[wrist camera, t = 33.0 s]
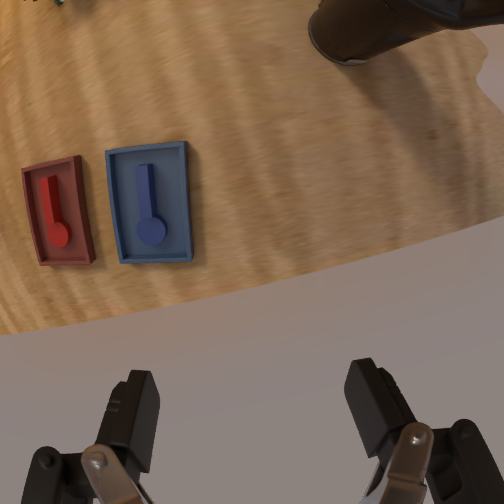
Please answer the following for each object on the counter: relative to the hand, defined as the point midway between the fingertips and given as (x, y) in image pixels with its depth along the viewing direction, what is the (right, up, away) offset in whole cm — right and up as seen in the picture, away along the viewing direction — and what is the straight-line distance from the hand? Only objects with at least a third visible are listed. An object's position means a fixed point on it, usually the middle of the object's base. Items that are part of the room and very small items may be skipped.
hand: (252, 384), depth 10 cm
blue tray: (-13, +11, +25) cm, 30 cm away
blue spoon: (-13, +11, +24) cm, 30 cm away
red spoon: (-28, +11, +23) cm, 38 cm away
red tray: (-28, +11, +24) cm, 38 cm away
